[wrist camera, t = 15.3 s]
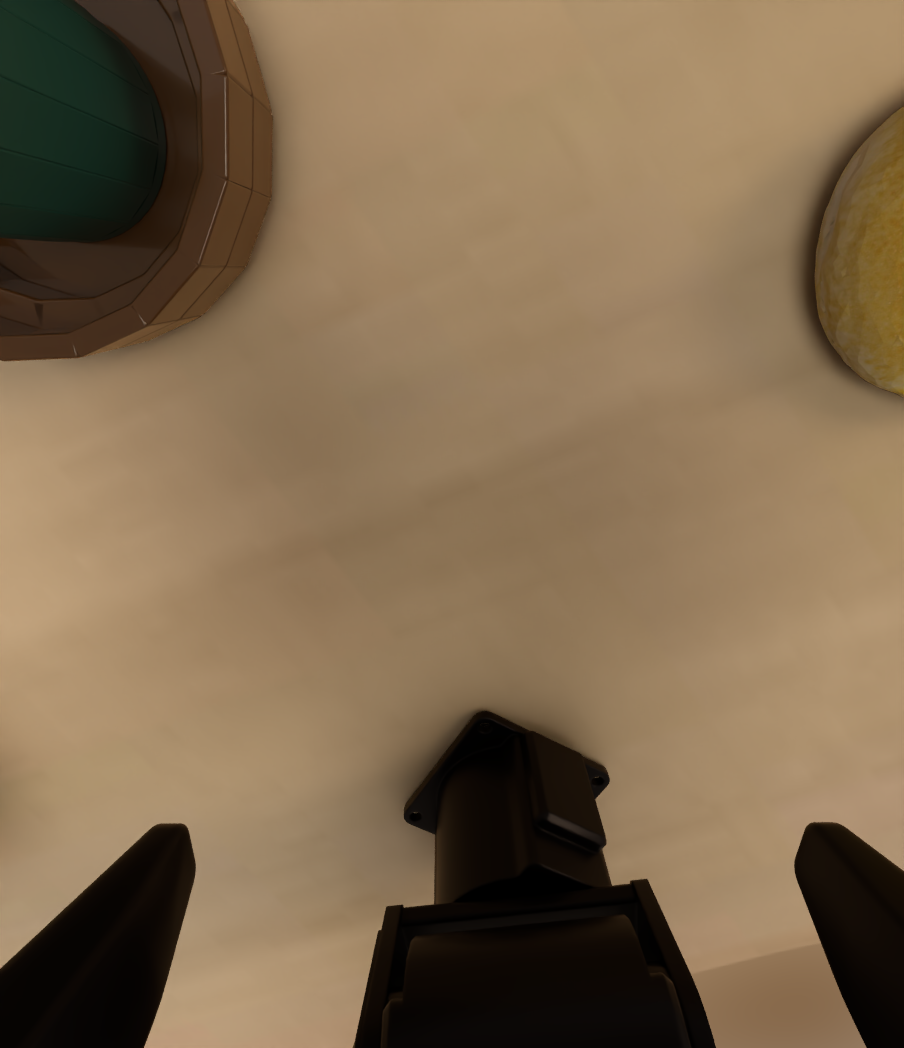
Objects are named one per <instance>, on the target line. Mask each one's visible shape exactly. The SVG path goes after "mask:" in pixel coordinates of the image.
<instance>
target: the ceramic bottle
mask: <svg viewBox="0 0 904 1048" xmlns="http://www.w3.org/2000/svg"><path fill="white" fill-rule="evenodd" d="M165 162H166V138H165V129H164V123H163V119H162V115H161V110H160V107H159V104H158V101H157V98H156V96H155V93H154V91H153V89H152V86H151V84H150V82H149V80H148V78H147V76H146V74H145V73H144V71H143V69H142V68H141V66H140V64H139V63H138V61H137V60H136V59H135V57H134V56H133V55H132V53H131V52H130V50H129V49H128V48H127V47H126V46H125V45H124V44H123V42H122V41H121V40H120V39H119V38H118V37H117V36H116V35H115V34H114V33H113V32H112V31H110V30H109V29H108V28H107V27H106V26H105V25H104V24H102V23H101V22H100V21H98V20H97V19H96V18H94V17H93V16H92V15H91V14H90V13H89V12H88V11H87V10H86V9H85V8H84V7H82V6H81V5H80V4H78V3H77V2H75V1H74V0H0V238H9V239H23V240H37V241H51V242H96V241H102V240H106V239H110V238H113V237H115V236H117V235H120V234H122V233H124V232H125V231H127V230H128V229H130V228H131V227H133V226H134V225H135V224H136V223H137V222H138V221H139V220H141V219H142V218H143V216H144V215H145V214H146V213H147V211H148V210H149V209H150V207H151V205H152V204H153V202H154V200H155V198H156V196H157V194H158V191H159V189H160V186H161V183H162V179H163V175H164V170H165Z"/></svg>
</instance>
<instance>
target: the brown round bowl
mask: <svg viewBox="0 0 904 1048" xmlns="http://www.w3.org/2000/svg"><path fill="white" fill-rule="evenodd" d="M74 1H75V2H77V3H78V4H80V5H81V6H82V7H84V8H85V9H86V10H87V11H88V12H89V13H90V14H91V15H92V16H93V17H94V18H96V19H97V20H98V21H100V22H101V23H102V24H104V25H105V26H106V27H107V28H108V29H109V30H110V31H112V32H113V33H114V34H115V35H116V36H117V37H118V38H119V39H120V40H121V41H122V42H123V44H124V45H125V46H126V47H127V48H128V49H129V50H130V52H131V53H132V55H133V56H134V57H135V59H136V60H137V61H138V63H139V64H140V66H141V68H142V69H143V71H144V73H145V74H146V76H147V78H148V80H149V82H150V84H151V86H152V89H153V91H154V93H155V96H156V98H157V101H158V104H159V107H160V110H161V115H162V119H163V123H164V129H165V138H166V162H165V170H164V175H163V179H162V183H161V186H160V189H159V191H158V194H157V196H156V198H155V200H154V202H153V204H152V205H151V207H150V209H149V210H148V211H147V213H146V214H145V215H144V216H143V218H142V219H141V220H139V221H138V222H137V223H136V224H135V225H134V226H133V227H131V228H130V229H128V230H127V231H125V232H124V233H122V234H120V235H117V236H115V237H113V238H110V239H106V240H102V241H96V242H51V241H37V240H23V239H9V238H0V360H1V361H23V360H46V359H69V358H80V357H85V356H89V355H93V354H97V353H101V352H106V351H110V350H114V349H118V348H122V347H126V346H130V345H134V344H138V343H142V342H146V341H149V340H151V339H154V338H156V337H158V336H160V335H162V334H164V333H167V332H169V331H171V330H173V329H175V328H177V327H180V326H182V325H184V324H186V323H188V322H190V321H193V320H195V319H197V318H199V317H201V316H202V315H203V314H205V313H206V312H207V310H208V309H209V308H210V307H211V306H212V305H213V304H214V303H215V302H216V300H217V299H218V298H219V297H220V296H221V295H222V294H223V293H224V291H225V290H226V289H227V288H228V287H229V286H230V285H231V284H232V282H233V281H234V280H235V279H236V278H237V277H238V276H239V275H240V273H241V272H242V271H243V270H244V269H245V266H247V264H248V262H249V259H250V256H251V253H252V250H253V248H254V245H255V242H256V239H257V237H258V234H259V231H260V228H261V226H262V223H263V220H264V217H265V215H266V212H267V209H268V206H269V204H270V201H271V196H272V136H273V116H272V110H271V107H270V103H269V100H268V96H267V93H266V89H265V85H264V82H263V78H262V75H261V71H260V68H259V64H258V61H257V57H256V54H255V50H254V46H253V43H252V39H251V36H250V32H249V29H248V26H247V25H246V23H245V21H244V18H243V16H242V14H241V13H240V11H239V10H238V8H237V6H236V5H235V3H234V1H233V0H74Z"/></svg>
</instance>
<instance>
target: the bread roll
mask: <svg viewBox="0 0 904 1048" xmlns="http://www.w3.org/2000/svg"><path fill="white" fill-rule="evenodd" d="M814 278H815V291H816V302H817V310H818V314H819V319H820V322H821V324H822V327H823V329H824V331H825V334H826V336H827V338H828V340H829V342H830V343H831V345H832V346H833V347H834V349H835V350H836V351H837V352H838V354H839V355H840V356H841V357H842V360H843V361H844V362H845V363H846V364H847V365H848V366H850V368H851V369H852V370H853V371H855V372H856V373H857V374H858V375H859V376H860V377H861V378H863V379H864V380H865V381H867V382H869V383H871V384H873V385H875V386H877V387H879V388H882V389H884V390H887V391H890V392H893V393H897V394H898V395H900V396H902V397H904V106H903V107H902V108H900V109H899V110H898V111H896V112H895V113H894V114H892V115H891V116H890V117H889V118H888V119H887V120H886V121H885V122H884V123H883V124H882V125H881V126H880V127H879V128H878V129H877V130H875V131H874V132H873V133H872V135H871V136H870V137H869V138H868V139H867V140H866V141H865V142H864V143H863V144H862V145H861V146H860V148H859V149H858V150H857V152H856V153H855V154H854V155H853V157H852V158H851V160H850V162H849V163H848V165H847V166H846V168H845V169H844V171H843V173H842V175H841V177H840V178H839V180H838V183H837V185H836V187H835V189H834V191H833V194H832V197H831V199H830V202H829V204H828V207H827V208H826V211H825V214H824V218H823V221H822V225H821V230H820V235H819V240H818V245H817V250H816V265H815V277H814Z"/></svg>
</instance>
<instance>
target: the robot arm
mask: <svg viewBox="0 0 904 1048" xmlns="http://www.w3.org/2000/svg"><path fill="white" fill-rule="evenodd" d="M482 723H488V724H489V725H487V726H481V724H482ZM598 776H599V777H598ZM594 777H598V778H594ZM609 781H610V778H609V775H608V772H607V770H606V768H605V767H603V766H602V765H600V764H598V763H596V762H593V761H591V760H589V759H587V758H585V757H583V756H582V755H581V754H580V753H578V752H576V751H574V750H572V749H570V748H568V747H565V746H563V745H561V744H559V743H557V742H555V741H553V740H551V739H549V738H547V737H545V736H543V735H540V734H538V733H536V732H534V731H529V730H527V729H525V728H523V727H521V726H518V725H516V724H514V723H512V722H510V721H508V720H506V719H504V718H502V717H500V716H498V715H496V714H493V713H491V712H488V711H481V712H479V713H477V714H475V715H474V716H473V718H472V719H471V720H470V722H469V723H468V724H467V725H466V727H465V728H464V729H463V731H462V732H461V733H460V735H459V736H458V737H457V738H456V740H455V741H454V742H453V744H452V745H451V746H450V748H449V749H448V750H447V751H446V753H445V754H444V755H443V757H442V758H441V759H440V761H439V762H438V763H437V764H436V766H435V767H434V768H433V770H432V771H431V772H430V774H429V775H428V776H427V777H426V779H425V780H424V781H423V783H422V784H421V785H420V787H419V788H418V789H417V791H416V792H415V793H414V794H413V796H412V797H411V798H410V800H409V801H408V802H407V804H406V805H405V807H404V819H405V821H406V822H407V823H409V824H411V825H413V826H416V827H418V828H421V829H423V830H425V831H428V832H430V833H433V834H435V879H434V905H424V906H415V907H405V908H404V907H403V905H395V906H387V907H386V911H385V915H384V920H383V925H382V930H379V931H378V934H377V939H376V944H375V949H374V953H373V958H372V963H371V968H370V972H369V977H368V982H367V987H366V991H365V996H364V1001H363V1006H362V1010H361V1015H360V1020H359V1025H358V1029H357V1034H356V1039H355V1043H354V1045H353V1048H716V1046H715V1043H714V1039H713V1035H712V1032H711V1029H710V1025H709V1023H708V1019H707V1016H706V1012H705V1010H704V1007H703V1004H702V1001H701V998H700V996H699V993H698V990H697V988H696V986H695V983H694V981H693V978H692V976H691V974H690V972H689V969H688V967H687V965H686V963H685V961H684V958H683V956H682V954H681V952H680V950H679V947H678V945H677V943H676V941H675V939H674V936H673V934H672V932H671V930H670V928H669V926H668V923H667V921H666V919H665V917H664V915H663V912H662V910H661V908H660V906H659V904H658V901H657V899H656V897H655V895H654V893H653V890H652V888H651V886H650V884H649V882H648V880H647V879H641V880H632V881H630V884H624V885H614V886H612V884H611V880H610V877H609V873H608V869H607V866H606V862H605V858H604V855H603V851H602V848H603V847H604V846H605V845H606V837H605V833H604V829H603V826H602V822H601V819H600V815H599V812H598V808H597V805H596V801H595V799H596V797H597V796H598V795H599V794H600V793H601V792H602V791H603V790H604V789H605V788H606V787H607V785H608V784H609ZM413 812H418V813H413ZM794 868H795V874H796V878H797V881H798V884H799V887H800V889H801V892H802V894H803V897H804V900H805V902H806V905H807V907H808V910H809V913H810V915H811V918H812V920H813V923H814V926H815V928H816V931H817V933H818V936H819V939H820V941H821V944H822V946H823V949H824V951H825V954H826V957H827V959H828V962H829V964H830V967H831V970H832V972H833V975H834V978H835V980H836V982H837V985H838V987H839V990H840V992H841V995H842V997H843V999H844V1001H845V1003H846V1005H847V1008H848V1010H849V1012H850V1014H851V1016H852V1019H853V1020H854V1023H855V1025H856V1027H857V1029H858V1031H859V1033H860V1035H861V1037H862V1039H863V1041H864V1043H865V1045H866V1047H867V1048H904V871H903V870H902V869H900V868H899V867H898V866H896V865H895V864H894V863H892V862H891V861H890V860H888V859H887V858H886V857H884V856H883V855H882V854H880V853H879V852H878V851H876V850H875V849H874V848H872V847H871V846H870V845H868V844H867V843H866V842H864V841H863V840H862V839H860V838H859V837H858V836H856V835H855V834H854V833H852V832H851V831H850V830H848V829H847V828H846V827H844V826H842V825H840V824H838V823H833V822H813V823H810V824H809V825H808V826H807V827H806V828H805V831H804V834H803V837H802V840H801V843H800V846H799V849H798V852H797V854H796V857H795V863H794ZM195 871H196V863H195V858H194V853H193V848H192V844H191V839H190V835H189V831H188V828H187V827H186V825H184V824H158V825H155V826H154V827H152V828H151V829H150V830H149V831H148V832H147V833H145V834H144V835H143V836H142V837H141V838H140V839H139V840H138V841H137V842H136V843H135V844H134V845H133V846H132V847H130V848H129V849H128V850H127V851H126V852H125V853H124V854H123V855H122V856H121V857H120V858H119V859H118V860H116V861H115V862H114V863H113V864H112V865H111V866H110V867H109V868H108V869H107V870H106V871H105V872H104V873H103V874H101V875H100V876H99V877H98V878H97V879H96V880H95V881H94V882H93V883H92V884H91V885H90V886H89V887H88V888H86V889H85V890H84V891H83V892H82V893H81V894H80V895H79V896H78V897H77V898H76V899H75V900H74V901H73V902H71V903H70V904H69V905H68V906H67V907H66V908H65V909H64V910H63V911H62V912H61V913H60V914H59V915H58V916H56V917H55V918H54V919H53V920H52V921H51V922H50V923H49V924H48V925H47V926H46V927H45V928H44V929H43V930H41V931H40V932H39V933H38V934H37V935H36V936H35V937H34V938H33V939H32V940H31V941H30V942H29V943H27V944H26V945H25V946H24V947H23V948H22V949H21V950H20V951H19V952H18V953H17V954H16V955H15V956H14V957H12V958H11V959H10V960H9V961H8V962H7V963H6V964H5V965H4V966H3V967H2V968H1V969H0V1048H144V1046H145V1043H146V1041H147V1038H148V1035H149V1033H150V1030H151V1027H152V1025H153V1022H154V1019H155V1016H156V1013H157V1010H158V1008H159V1005H160V1002H161V998H162V995H163V992H164V988H165V985H166V981H167V978H168V974H169V971H170V967H171V963H172V960H173V956H174V952H175V949H176V945H177V941H178V938H179V934H180V930H181V927H182V923H183V919H184V916H185V912H186V908H187V905H188V901H189V897H190V894H191V890H192V886H193V883H194V878H195Z"/></svg>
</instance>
